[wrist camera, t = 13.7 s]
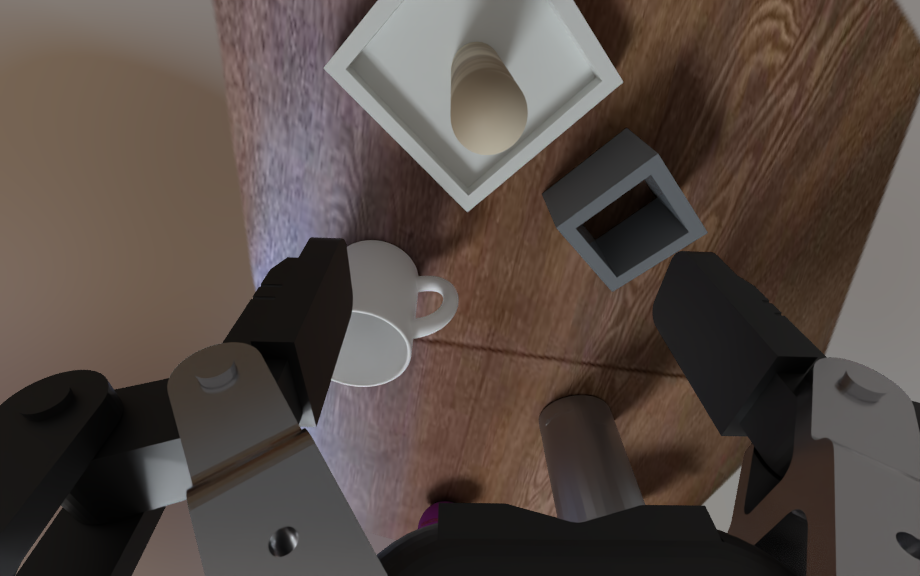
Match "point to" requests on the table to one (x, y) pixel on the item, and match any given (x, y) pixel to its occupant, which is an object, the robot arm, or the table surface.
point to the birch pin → (485, 101)
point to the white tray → (429, 78)
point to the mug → (386, 314)
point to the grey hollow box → (640, 234)
